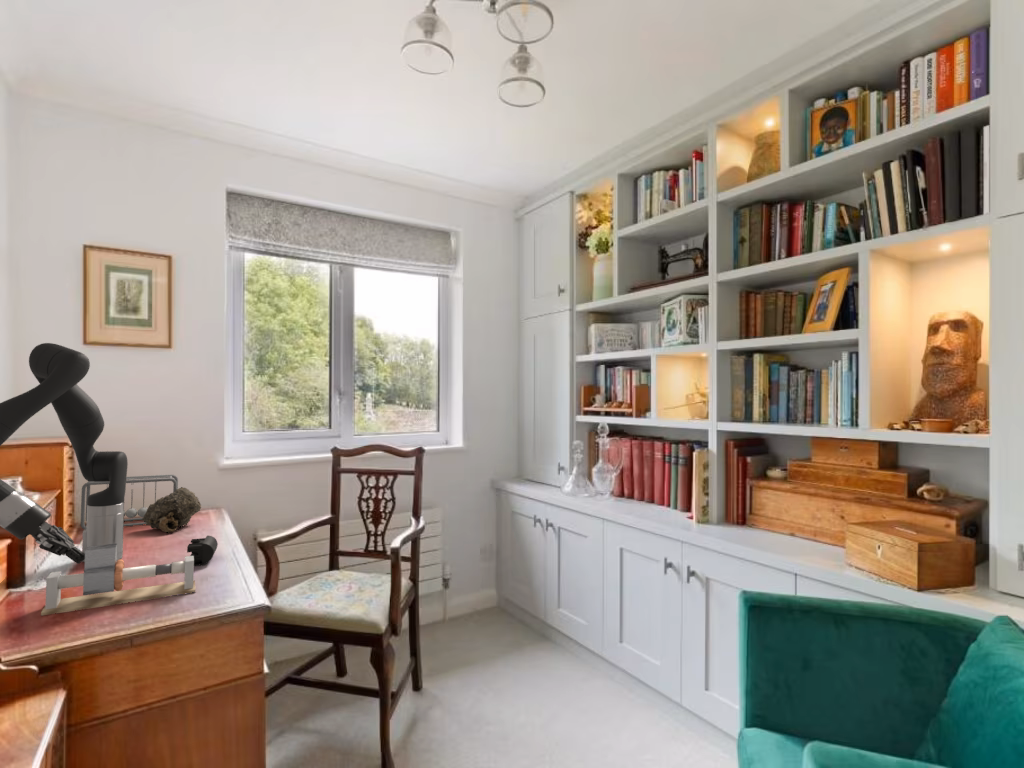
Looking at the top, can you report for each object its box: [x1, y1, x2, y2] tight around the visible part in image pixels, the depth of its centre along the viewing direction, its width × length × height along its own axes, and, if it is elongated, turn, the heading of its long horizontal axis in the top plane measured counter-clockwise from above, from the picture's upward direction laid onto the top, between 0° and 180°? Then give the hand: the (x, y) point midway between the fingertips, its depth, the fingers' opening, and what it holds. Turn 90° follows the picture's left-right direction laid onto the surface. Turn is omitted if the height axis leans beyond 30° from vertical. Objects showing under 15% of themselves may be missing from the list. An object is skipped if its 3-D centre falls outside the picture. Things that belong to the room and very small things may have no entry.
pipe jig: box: [44, 555, 195, 610], centre depth 138 cm, size 30×5×8 cm, turn 121°
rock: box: [141, 486, 202, 534], centre depth 206 cm, size 18×14×15 cm
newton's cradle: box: [80, 474, 179, 530], centre depth 213 cm, size 30×10×18 cm, turn 119°
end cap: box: [186, 535, 219, 567], centre depth 169 cm, size 10×7×7 cm
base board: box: [40, 579, 196, 616], centre depth 138 cm, size 31×8×1 cm, turn 121°
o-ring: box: [114, 558, 125, 591], centre depth 137 cm, size 2×7×7 cm, turn 31°
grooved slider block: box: [82, 544, 118, 596], centre depth 136 cm, size 6×6×10 cm
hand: (83, 559), depth 134 cm, fingers closed
